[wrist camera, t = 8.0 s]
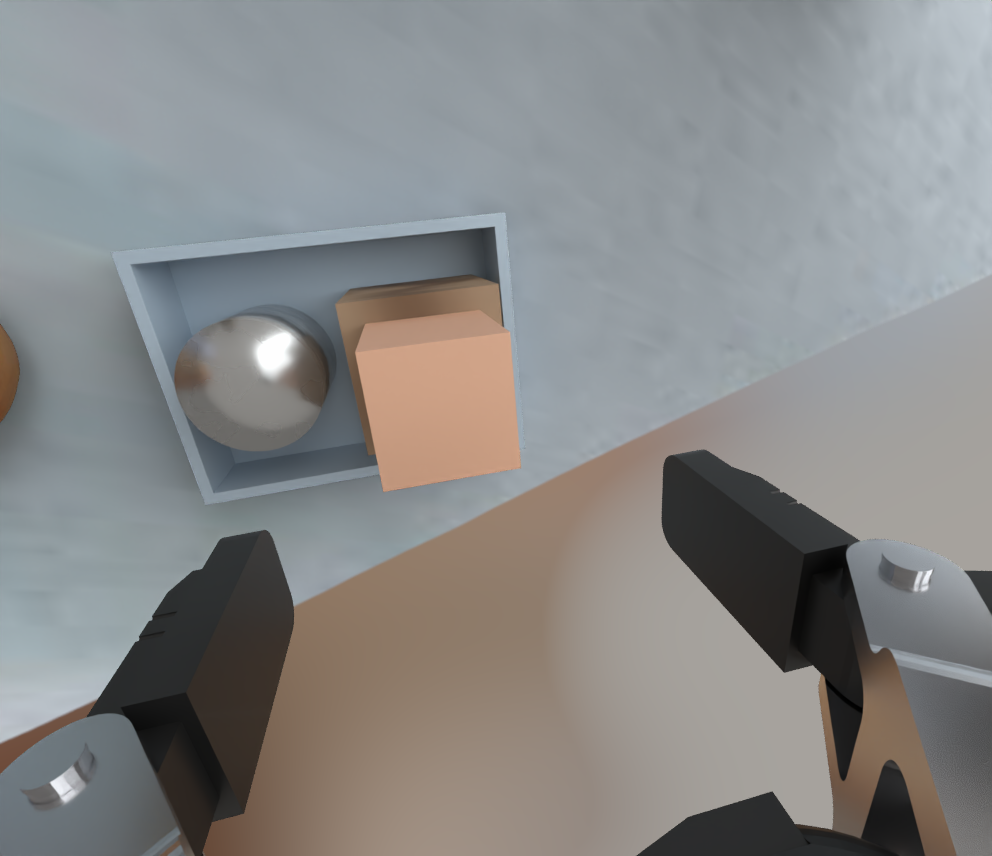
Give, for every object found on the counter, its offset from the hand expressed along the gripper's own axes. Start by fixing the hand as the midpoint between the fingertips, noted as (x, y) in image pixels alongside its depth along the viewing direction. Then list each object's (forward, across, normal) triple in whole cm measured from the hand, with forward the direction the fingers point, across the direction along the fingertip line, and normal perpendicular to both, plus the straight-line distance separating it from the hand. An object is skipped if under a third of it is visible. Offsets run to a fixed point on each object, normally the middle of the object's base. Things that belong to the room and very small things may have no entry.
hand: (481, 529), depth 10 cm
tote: (+22, +4, 0) cm, 22 cm away
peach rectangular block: (+13, 0, 0) cm, 13 cm away
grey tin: (+21, +8, 0) cm, 23 cm away
